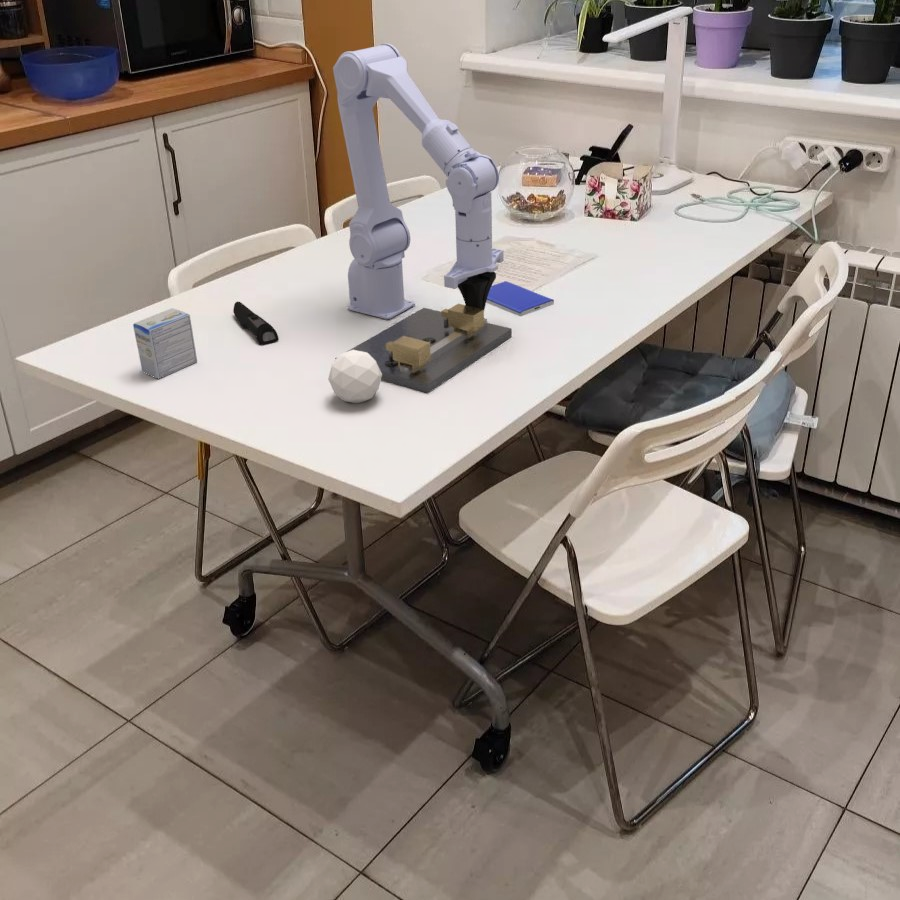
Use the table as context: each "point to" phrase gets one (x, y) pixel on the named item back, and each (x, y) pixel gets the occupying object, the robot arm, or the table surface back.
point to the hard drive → (516, 299)
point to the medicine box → (165, 342)
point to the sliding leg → (464, 318)
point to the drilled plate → (442, 363)
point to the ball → (355, 376)
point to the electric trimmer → (255, 324)
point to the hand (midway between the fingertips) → (475, 315)
